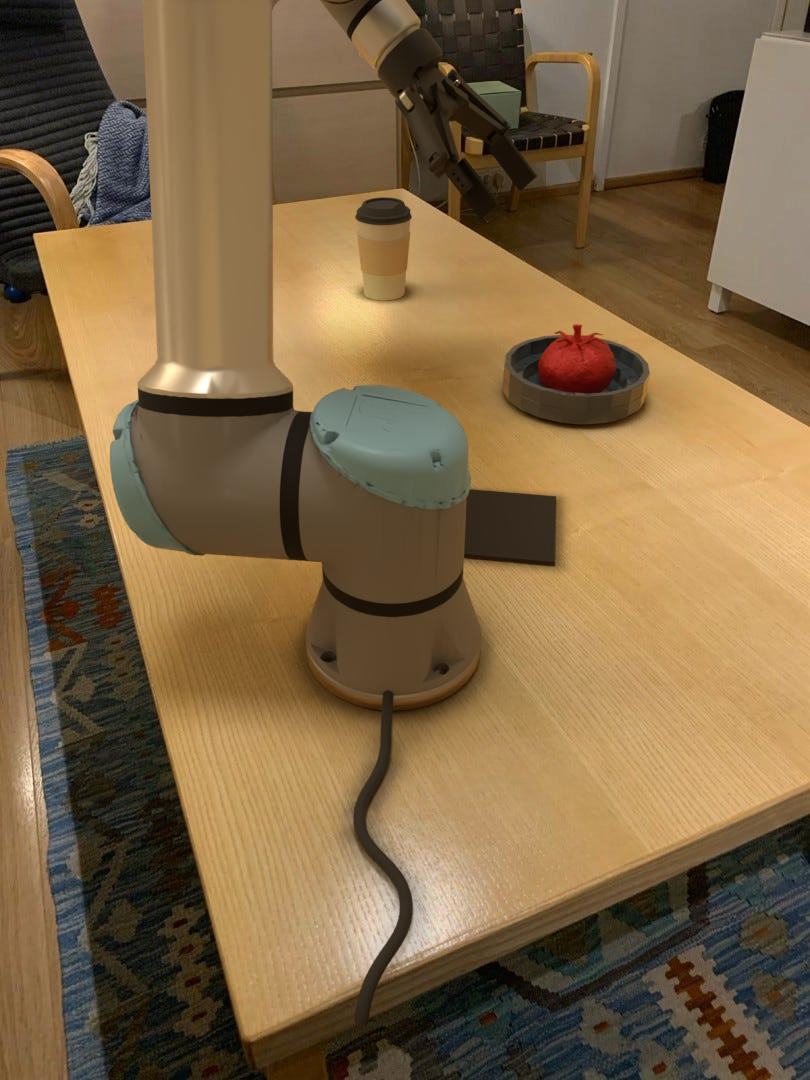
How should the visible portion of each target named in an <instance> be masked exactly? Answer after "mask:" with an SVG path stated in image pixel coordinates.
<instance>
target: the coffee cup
mask: <svg viewBox="0 0 810 1080" xmlns="http://www.w3.org/2000/svg"><path fill="white" fill-rule="evenodd" d="M412 217H413V216H412V213H411V209H410V207H408V206H407V205H406V204H405V202H404V201H403V200H402V199H399V198H396V197H387V196H384V197H383V196H382V197H373V198H369V199H365V200H364V201H363V202H362V204H361V206H360V207H358V208H357V210H356V214H355V216H354V218H355V220H356V225H357V227H356V228H357V231H356V236H357V237H356V238H357V246H358V255H359V264H360V270H361V274H362V284H363V292H364V293H363V294H364V296H365V297H366V298H368V299H370V300H374V301H394V300H397V299H400V298H402V297H404V295H405V291H406V280H407V270H408V264H409V263H408V262H409V250H410V239H411V231H410V230H411V220H412Z"/></svg>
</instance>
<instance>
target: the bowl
mask: <svg viewBox="0 0 810 1080" xmlns="http://www.w3.org/2000/svg"><path fill="white" fill-rule="evenodd" d="M569 335H570V336H574V334H569ZM560 337H564V336H563V335H561V334H553V335H543V336H538V337H534V338H529V339H526V340H524V341H521V342H520V343H516V344H515V345H513V346H512V347H511V348H510V349H509V350H508V351H507V352H506V354H505V357H504V366H503V376H502V377H503V379H502V392H503V395H504V396H505V397H506V399H507V401H508V402H510V404H512V405H513V406H515V407H516V408H518V409H519V410H520V411H522V412H524V413H527V414H530V415H531V416H534V417H536V418H540V419H543V420H548V421H552V422H557V423H561V424H573V425H595V424H606V423H612V422H615V421H619V420H622V419H626V418H628V417H630V416H632V415H633V414H635V413H636V412H638V411H639V410H640V409H641V407H642V406H643V404H644V403H645V401H646V396H647V391H648V385H649V380H650V374H651V371H650V368H649V367H650V365H649V363H648V362H647V361H646V360H645V358H644V357H643V356H642V355H641V354H640V353H638V352H637V351H635V350H633V349H631V348H630V347H628V346H626V345H624V344H621V343H618V342H615V341H613V340H608V339H604V338H601V339H602V340H604V341H605V342H606V343H607V344H608V345H609V347H610V350H611V351H612V353H613V355H614V359H615V364H616V371H615V374H614V376H613V379H612V381H611V382H610V384H609V385H608V386H607V388H606V389H605V390H603V391H602V392H600V393H591V394H586V393H572V392H563V391H559V390H554V389H549V388H544V387H543V386H542V385H541V383H540V380H539V373H538V362H539V360H540V357H541V356H542V355H543V353H544V352H545V350H546V348H547V347H548V346H549V345H550V344H551V343H552V342H554V341H556V339H558V338H560Z"/></svg>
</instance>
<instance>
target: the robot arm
mask: <svg viewBox="0 0 810 1080" xmlns="http://www.w3.org/2000/svg"><path fill="white" fill-rule="evenodd" d="M279 1H280V0H141V4H142V5H141V6H142V28H143V29H142V30H143V51H144V52H143V53H144V54H143V55H144V75H145V76H144V77H145V99H146V121H147V123H146V124H147V145H148V146H147V147H148V148H147V149H148V164H149V165H148V167H149V171H148V172H149V191H150V214H151V215H150V216H151V217H150V218H151V238H152V260H153V262H152V263H153V285H154V286H153V287H154V309H155V311H154V313H155V328H156V329H155V332H156V352H157V353H156V355H157V358H156V361H155V363H154V364H153V365H152V366H151V368H149V369H148V370H147V371H146V373H145V374H144V375H143V376H142V377H140V379H139V380H138V381H137V399H136V400H134V401H132V402H131V403H128V404H126V405H125V406H124V407H122V409H121V410H120V411H119V413H118V415H117V416H116V418H115V421H114V424H113V427H112V435H113V437H114V440H112V441H111V442H110V445H109V468H110V475H111V476H110V477H111V483H112V488H113V492H114V495H115V500H116V503H117V507H118V508H119V511H120V514H121V516H122V518H123V520H124V522H125V524H126V525H127V526H128V528H129V530H131V531H132V532H133V533H134V534H135V535H136V537H137V538H138V539H139V540H140V541H141V542H143V543H144V544H146V545H148V546H149V547H152V548H155V549H158V550H159V549H160V550H167V551H168V550H169V551H175V552H183V553H186V554H188V555H191V556H201V557H203V556H206V555H213V556H227V557H240V558H254V559H255V558H256V559H271V560H283V561H301V562H311V563H312V562H313V563H321V570H322V572H321V573H322V581H321V583H320V587H319V589H318V592H317V595H316V598H315V601H314V604H313V607H312V610H311V613H310V615H309V618H308V622H307V626H306V630H305V647H306V657H307V662H308V666H309V668H310V671H311V672H312V675H314V677H315V678H316V680H317V681H318V682H319V683H320V685H322V687H324V688H325V689H326V690H327V691H328V692H330V693H331V694H332V695H334V696H336V697H337V698H339V699H341V700H343V701H345V702H348V703H349V704H352V705H355V706H359V707H362V708H366V709H372V710H378V711H381V715H380V741H379V742H380V743H379V744H380V745H379V751H378V756H377V759H376V762H375V765H374V768H373V770H372V771H371V773H370V775H369V777H368V778H367V780H366V782H365V783H364V785H363V786H362V788H361V790H360V792H359V794H358V795H357V799H356V801H355V804H354V808H353V813H352V814H353V816H352V818H353V821H352V822H353V823H352V824H353V828H354V833H355V835H356V839H357V840H358V843H359V845H361V847H362V849H363V850H364V852H365V853H366V854H367V856H368V857H369V858H370V859H371V860H372V861H373V862H374V863H375V864H376V865H377V866H378V867H379V868H380V870H381V871H382V872H383V873H384V874H385V875H386V876H387V877H388V879H389V880H390V882H391V883H392V884H393V886H394V888H395V890H396V892H397V895H398V902H399V911H398V912H399V914H398V919H397V921H396V924H395V927H394V929H393V931H392V933H391V935H390V936H389V938H388V939H387V941H386V943H384V946H383V947H382V948H381V949H380V951H379V952H378V954H377V956H376V957H375V959H374V960H373V962H372V963H371V965H370V967H369V969H368V971H367V972H366V974H365V977H364V979H363V982H362V984H361V987H360V990H359V994H358V997H357V1002H356V1006H355V1012H354V1020H353V1021H354V1023H355V1025H356V1027H359V1028H362V1027H365V1026H366V1025H367V1023H369V1019H370V1012H371V1008H372V1004H373V1003H372V1002H373V999H374V996H375V993H376V990H377V987H378V985H379V982H380V980H381V978H382V977H383V974H384V973H385V972H386V970H387V968H388V966H389V965H390V963H391V962H392V960H393V959H394V957H395V956H396V954H397V953H398V951H399V949H400V948H401V946H402V945H403V944H404V941H405V940H406V938H407V936H408V934H409V931H410V928H411V925H412V922H413V915H414V902H413V895H412V892H411V888H410V886H409V883H408V881H407V879H406V877H405V876H404V874H403V872H402V871H401V870H400V869H399V867H398V866H397V865H396V864H395V863H394V862H393V860H392V859H390V858H389V856H388V855H387V854H386V853H385V852H384V851H383V850H382V849H381V848H380V847H379V846H378V845H377V844H376V841H374V840H373V838H372V836H371V835H370V833H369V831H368V828H367V821H366V816H367V815H366V814H367V809H368V805H369V802H370V800H371V798H372V796H373V794H374V792H375V791H376V789H377V787H378V785H379V784H380V782H381V781H382V779H383V777H384V774H385V772H386V771H387V768H388V765H389V763H390V758H391V754H392V753H391V752H392V745H393V744H392V743H393V714H394V713H393V712H394V711H406V710H413V709H414V710H415V709H418V708H423V707H427V706H430V705H433V704H435V703H438V702H440V701H443V700H444V699H447V698H448V697H450V696H451V695H453V694H455V693H456V692H457V691H459V690H460V689H461V688H462V687H463V686H464V685H466V683H467V682H468V681H469V680H470V679H471V677H473V674H474V673H475V671H476V669H477V667H478V664H479V661H480V655H481V644H482V630H481V625H480V622H479V619H478V616H477V613H476V611H475V608H474V604H473V602H472V599H471V596H470V594H469V591H468V588H467V585H466V581H465V579H464V564H465V558H464V547H465V522H466V498H467V496H468V494H469V491H470V489H471V484H472V477H471V473H470V471H469V442H468V441H469V440H468V438H467V434H466V431H465V429H464V427H463V426H462V424H461V422H460V421H459V420H458V418H457V417H456V416H455V415H454V414H453V413H452V412H451V411H449V410H448V409H446V408H444V407H443V406H442V405H441V404H440V403H439V402H437V401H436V400H434V399H432V398H430V397H429V396H425V395H424V394H420V393H418V392H415V391H412V390H409V389H406V388H400V387H395V386H390V385H380V384H359V385H355V386H353V387H352V389H349V388H345V387H343V388H339V389H336V390H334V391H331V392H329V393H327V394H326V395H324V396H323V397H321V398H320V399H319V400H318V402H317V403H316V405H315V406H314V408H313V410H312V411H303V410H302V411H301V410H295V408H294V384H293V382H292V381H291V380H290V379H289V378H288V377H287V376H286V375H285V374H284V373H283V372H282V371H281V370H280V369H279V368H278V367H277V365H276V363H275V361H274V210H273V209H274V195H273V194H274V191H273V190H274V189H273V188H274V185H273V184H274V183H273V182H274V181H273V180H274V175H273V174H274V173H273V169H274V168H273V165H274V164H273V163H274V162H273V161H274V159H273V157H274V156H273V155H274V153H273V151H274V149H273V147H274V146H273V11H274V8H275V6H276V5H277V3H278V2H279ZM319 1H320V3H321V4H322V5H323V6H324V8H325V9H326V10H327V12H328V13H329V14H330V15H331V17H332V18H333V19H334V20H335V21H336V23H337V24H338V25H339V27H340V28H341V29H342V30H343V32H344V33H345V34H346V35H347V37H348V39H349V40H350V41H351V43H353V45H354V46H355V48H356V49H357V50H358V56H359V57H360V58H361V59H364V60H365V61H366V63H368V65H369V67H371V68H372V70H373V69H374V70H377V78H378V79H379V80H380V81H381V82H382V84H383V85H384V87H385V88H386V89H387V91H388V92H389V93H390V94H391V95H392V97H393V98H395V100H394V101H395V102H394V103H395V105H396V106H397V108H398V109H399V111H400V112H401V113H402V115H403V116H404V118H405V120H406V123H407V125H408V127H409V129H410V131H411V134H412V135H413V138H414V140H415V142H416V144H417V147H418V149H419V151H420V153H421V155H422V157H423V160H424V162H425V164H426V166H427V168H428V170H429V172H430V173H433V175H434V176H435V177H436V178H437V179H441V178H443V177H444V176H446V177H447V178H448V179H449V180H450V182H451V183H452V185H453V186H454V187H455V188H456V189H457V191H458V192H459V194H460V195H461V196H462V198H463V199H464V200H465V201H466V202H467V204H468V205H469V207H470V208H471V209H472V210H473V212H474V214H476V216H477V217H478V218H479V219H480V221H482V220H484V219H485V218H486V217H487V216H488V215H489V214H491V212H493V211H494V210H495V209H496V208H498V206H499V205H500V204H501V203H500V202H499V200H498V199H497V198H496V196H495V195H494V194H493V193H492V191H491V190H490V189H489V188H488V186H487V185H486V184H485V182H484V180H482V178H481V177H480V176H479V174H478V172H476V170H475V169H474V168H473V166H472V165H471V163H470V162H469V161H468V159H466V157H465V156H464V157H463V158H461V159H460V155H459V153H458V152H459V151H458V149H457V145H456V142H455V139H454V138H455V137H454V135H453V132H452V129H451V125H450V122H456V123H458V124H459V125H461V126H462V127H463V128H465V129H466V130H468V131H469V132H471V133H472V134H473V135H475V136H476V137H478V138H479V139H480V140H482V142H485V143H486V144H487V145H489V146H490V148H488V151H489V152H490V154H491V155H492V156H493V158H494V159H495V160H496V162H497V163H498V164H499V166H500V167H501V169H502V170H503V171H504V172H505V174H506V175H507V176H508V177H509V179H510V180H511V182H512V183H513V185H514V186H515V187H516V188H517V190H518V191H519V192H521V191H523V190H524V189H525V188H526V187H528V185H530V184H531V183H532V182H533V181H534V180H536V178H537V177H538V175H537V174H536V172H535V171H534V170H533V168H532V167H531V165H530V164H529V163H528V161H527V160H526V159H525V157H524V155H522V153H521V152H520V151H519V149H518V148H517V147H516V145H515V144H514V142H513V141H512V139H510V137H509V135H508V134H507V133H508V132H509V131H510V130H511V128H512V126H511V124H510V123H509V122H508V121H507V120H506V119H505V118H504V117H503V116H502V115H501V114H500V113H499V112H498V111H497V110H496V109H494V108H493V106H491V105H490V104H489V103H488V102H487V101H486V100H485V99H484V98H483V97H482V96H480V94H478V92H477V91H475V89H473V88H472V87H471V86H470V85H469V84H468V83H467V82H466V81H465V80H464V79H463V77H462V76H461V75H460V74H459V72H458V71H457V70H456V69H455V68H451V69H450V70H449V71H448V72H447V74H444V73H443V72H442V71H441V70H440V68H439V63H440V62H441V61H442V59H443V55H444V53H443V49H442V48H441V47H440V45H439V44H438V43H437V41H436V40H435V38H434V37H433V35H432V34H431V33H430V32H429V31H428V29H427V28H425V27H424V28H423V27H421V23H422V22H421V19H420V17H419V16H418V15H417V13H416V12H415V11H414V10H413V8H412V7H411V5H410V4H409V3H408V1H407V0H319Z"/></svg>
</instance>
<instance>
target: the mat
mask: <svg viewBox="0 0 810 1080" xmlns="http://www.w3.org/2000/svg"><path fill="white" fill-rule="evenodd" d="M556 530H557V496H556V495H545V494H534V493H521V492H510V491H496V490H484V489H473V488H472V489H471V488H470V491H469V494H468V496H467V498H466V522H465V547H464V559H465V558H466V559H475V560H486V561H499V562H500V561H501V562H509V563H521V564H529V565H530V564H532V565H543V566H556V538H557V537H556V533H557V531H556Z"/></svg>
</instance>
